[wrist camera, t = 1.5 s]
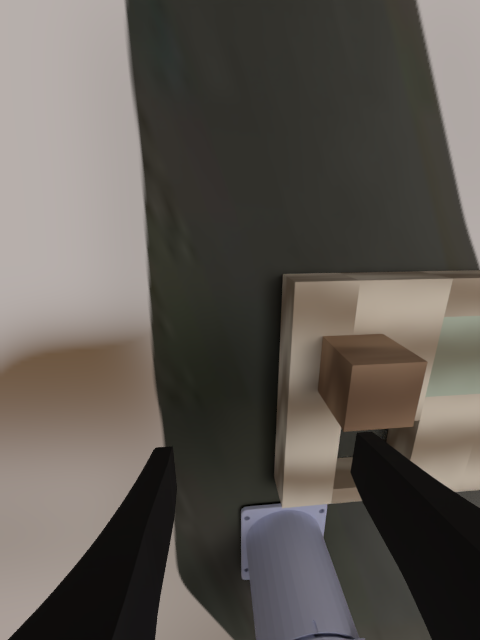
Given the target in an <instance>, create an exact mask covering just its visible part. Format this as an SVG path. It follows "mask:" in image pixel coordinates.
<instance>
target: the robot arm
mask: <svg viewBox="0 0 480 640" xmlns="http://www.w3.org/2000/svg"><path fill="white" fill-rule="evenodd" d="M350 473H351V475H352V478H353V480H354V483H355V485H356V488H357V490H358V492H359V495H360V497H361V499H362V501H363V503H364V505H365V507H366V509H367V511H368V513H369V514H370V516H371V518H372V520H373V522H374V524H375V525H376V527H377V529H378V531H379V533H380V534H381V536H382V538H383V540H384V542H385V543H386V545H387V547H388V549H389V551H390V553H391V554H392V556H393V558H394V560H395V562H396V563H397V565H398V567H399V569H400V571H401V573H402V575H403V577H404V579H405V581H406V583H407V585H408V587H409V589H410V591H411V594H412V596H413V598H414V600H415V602H416V605H417V607H418V609H419V611H420V613H421V615H422V618H423V620H424V622H425V625H426V627H427V629H428V631H429V634H430V636H431V638H432V640H480V508H479V507H477V506H475V505H474V504H472V503H471V502H469V501H467V500H466V499H464V498H463V497H461V496H460V495H458V494H457V493H455V492H454V491H452V490H451V489H449V488H448V487H447V486H445V485H444V484H442V483H441V482H439V481H438V480H436V479H435V478H434V477H432V476H431V475H429V474H428V473H427V472H425V471H424V470H422V469H421V468H420V467H418V466H417V465H416V464H414V463H413V462H412V461H410V460H409V459H408V458H406V457H405V456H404V455H402V454H401V453H400V452H398V451H397V450H396V449H394V448H393V447H392V446H390V445H389V444H388V443H386V442H385V441H384V440H382V439H381V438H380V437H378V436H377V435H376V434H374V433H373V432H361V433H357V436H356V441H355V447H354V453H353V459H352V465H351V471H350ZM176 492H177V484H176V474H175V464H174V455H173V446H172V447H158V448H155V449H154V450H153V452H152V454H151V456H150V458H149V460H148V461H147V463H146V465H145V467H144V469H143V470H142V472H141V474H140V475H139V477H138V479H137V480H136V482H135V484H134V485H133V487H132V489H131V490H130V491H129V493H128V495H127V496H126V498H125V500H124V501H123V502H122V504H121V505H120V507H119V508H118V510H117V511H116V512H115V514H114V515H113V517H112V518H111V520H110V521H109V522H108V524H107V525H106V527H105V528H104V529H103V531H102V532H101V534H100V535H99V536H98V538H97V539H96V540H95V541H94V543H93V544H92V545H91V547H90V548H89V549H88V550H87V552H86V553H85V554H84V556H83V557H82V558H81V559H80V561H79V562H78V563H77V564H76V565H75V567H74V568H73V569H72V570H71V571H70V572H69V574H68V575H67V576H66V577H65V578H64V580H63V581H62V582H61V583H60V584H59V585H58V586H57V588H56V589H55V590H54V591H53V592H52V593H51V594H50V596H49V597H48V598H47V599H46V600H45V601H44V602H43V603H42V605H41V606H40V607H39V608H38V609H37V610H36V611H35V612H34V613H33V614H32V615H31V616H30V617H29V618H28V619H27V620H26V621H25V622H24V624H23V625H22V626H21V627H20V628H19V629H18V630H17V631H16V632H15V633H14V634H13V635H12V636H11V637H10V638H9V639H8V640H155V633H156V624H157V615H158V608H159V601H160V594H161V589H162V583H163V578H164V572H165V567H166V561H167V555H168V551H169V545H170V539H171V534H172V528H173V523H174V516H175V504H176ZM326 512H327V504H322V505H312V506H301V507H291V508H282V506H281V503H280V504H269V505H258V506H247V507H244V508H242V509H241V577H242V579H244V580H250V586H251V596H252V605H253V614H254V624H255V633H256V640H365V638H359V636H358V633H357V630H356V628H355V625H354V622H353V619H352V616H351V614H350V611H349V608H348V605H347V602H346V600H345V597H344V594H343V591H342V588H341V586H340V583H339V580H338V577H337V574H336V572H335V569H334V566H333V563H332V561H331V558H330V555H329V552H328V549H327V547H326V544H325V541H324V538H323V536H324V528H325V520H326Z"/></svg>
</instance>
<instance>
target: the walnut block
mask: <svg viewBox="0 0 480 640" xmlns="http://www.w3.org/2000/svg"><path fill="white" fill-rule="evenodd" d="M427 363H428V362H427V361H426V360H424V359H422V358H421V357H419V356H418V355H416V354H414V353H413V352H411V351H410V350H408V349H406V348H405V347H403V346H402V345H400V344H398V343H397V342H395V341H394V340H392V339H390V338H389V337H387V336H386V335H384V334H365V335H340V336H323V340H322V351H321V361H320V372H319V382H318V392H319V394H320V396H321V397H322V399H323V400H324V402H325V403H326V405H327V406H328V408H329V409H330V411H331V413H332V414H333V416H334V417H335V419H336V420H337V422H338V423H339V425H340V427H341V428H342V430H343V431H344V432H346V431H360V430H374V429H388V428H402V427H413V424H414V420H415V416H416V411H417V407H418V402H419V398H420V394H421V389H422V385H423V380H424V376H425V372H426V367H427Z"/></svg>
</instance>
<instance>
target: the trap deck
mask: <svg viewBox="0 0 480 640" xmlns="http://www.w3.org/2000/svg"><path fill="white" fill-rule="evenodd" d="M365 334H384V335H386V336H387V337H389V338H390V339H392V340H394V341H395V342H397V343H398V344H400V345H402V346H403V347H405V348H406V349H408V350H410V351H411V352H413V353H414V354H416V355H418V356H419V357H421V358H422V359H424V360H426V361H427V362H428V363H427V367H426V372H425V376H424V380H423V385H422V389H421V394H420V398H419V402H418V407H417V411H416V416H415V420H414V424H413V427H402V428H389V429H388V435H387V440H386V443H388V444H389V445H390V446H392V447H393V448H394V449H396V450H397V451H398V452H400V453H401V454H402V455H404V456H405V457H406V458H408V459H409V460H410V461H412V462H413V463H414V464H416V465H417V466H418V467H420V468H421V469H422V470H424V471H425V472H427V473H428V474H429V475H431V476H432V477H434V478H435V479H436V480H438V481H439V482H441V483H442V484H444V485H445V486H447V487H448V488H449V489H451V490H452V491H454V492H461V491H471V490H480V270H462V271H411V272H359V273H308V274H283V285H282V308H281V331H280V354H279V377H278V399H277V422H276V445H275V468H274V478H275V482H276V486H277V490H278V494H279V498H280V502H281V506H282V508H291V507H301V506H312V505H322V504H333V503H344V502H354V501H362V499H361V497H360V495H359V492H358V490H357V488H356V485H355V483H354V480H353V478H352V475H351V473H350V471H351V465H352V459H353V457H346V458H337V455H338V447H339V439H340V432H341V427H340V425H339V423H338V422H337V420H336V419H335V417H334V416H333V414H332V413H331V411H330V409H329V408H328V406H327V405H326V403H325V402H324V400H323V399H322V397H321V396H320V394H319V392H318V382H319V372H320V361H321V351H322V340H323V336H340V335H365Z"/></svg>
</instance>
